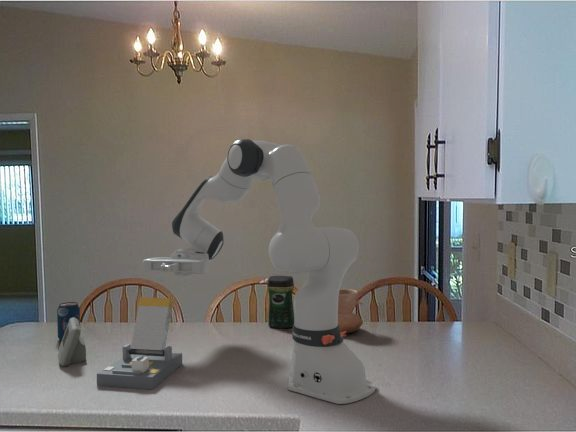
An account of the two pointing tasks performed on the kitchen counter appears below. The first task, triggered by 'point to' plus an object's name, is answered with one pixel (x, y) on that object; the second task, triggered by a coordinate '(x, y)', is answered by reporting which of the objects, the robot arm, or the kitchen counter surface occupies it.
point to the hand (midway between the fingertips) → (164, 268)
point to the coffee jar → (280, 301)
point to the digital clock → (72, 344)
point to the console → (125, 377)
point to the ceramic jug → (348, 311)
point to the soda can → (66, 316)
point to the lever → (151, 326)
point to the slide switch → (140, 364)
